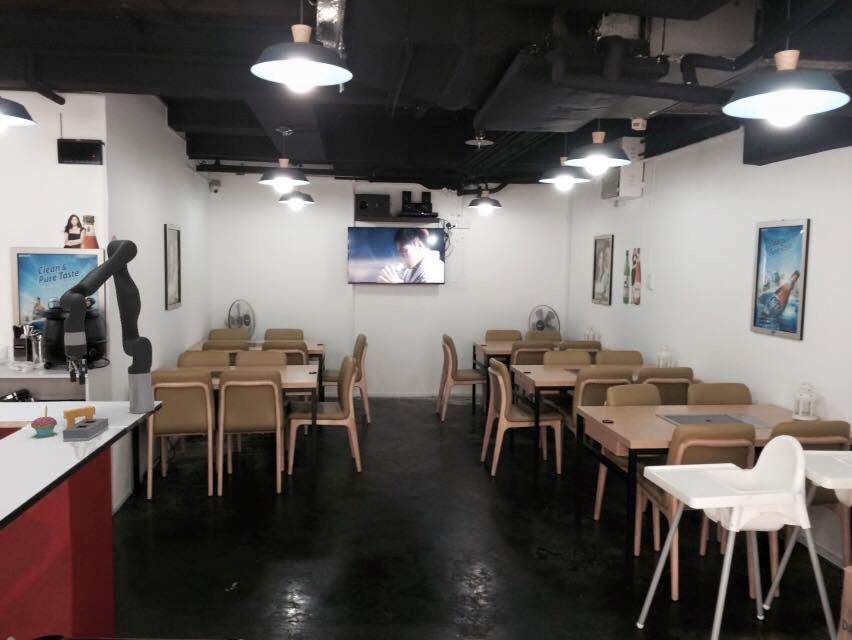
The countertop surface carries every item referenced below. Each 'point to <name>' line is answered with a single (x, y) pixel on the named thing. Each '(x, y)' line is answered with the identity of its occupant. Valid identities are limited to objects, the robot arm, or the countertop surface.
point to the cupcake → (44, 425)
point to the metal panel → (85, 429)
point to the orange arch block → (78, 414)
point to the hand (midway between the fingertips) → (77, 383)
